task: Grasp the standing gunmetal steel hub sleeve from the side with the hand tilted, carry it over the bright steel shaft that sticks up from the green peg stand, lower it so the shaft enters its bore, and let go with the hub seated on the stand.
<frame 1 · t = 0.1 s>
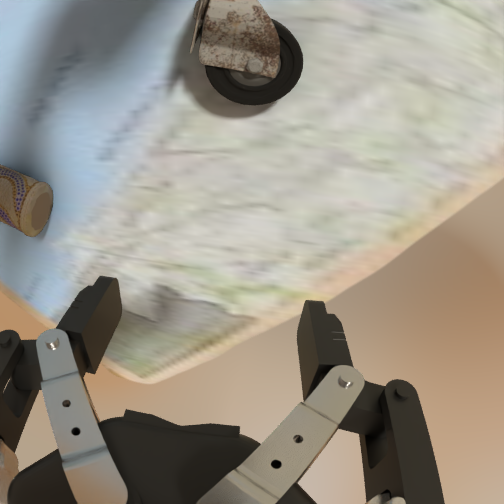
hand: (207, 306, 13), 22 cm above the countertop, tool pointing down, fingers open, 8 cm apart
caster wheel: (250, 41, 25), on the countertop
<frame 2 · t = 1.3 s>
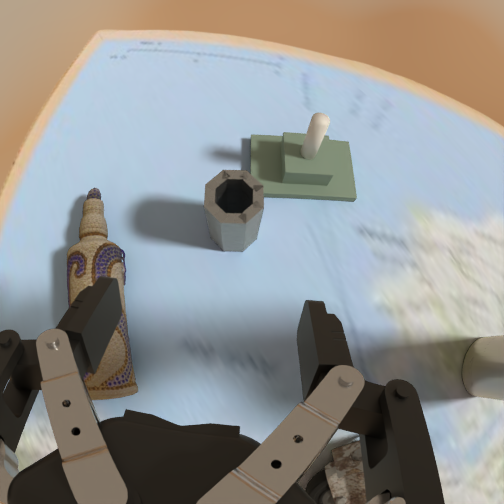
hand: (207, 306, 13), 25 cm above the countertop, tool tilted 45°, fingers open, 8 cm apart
hub: (233, 229, 40), on the countertop
caster wheel: (343, 476, 33), on the countertop
decorative bottle: (112, 298, 38), on the countertop
green peg stand: (301, 168, 43), on the countertop
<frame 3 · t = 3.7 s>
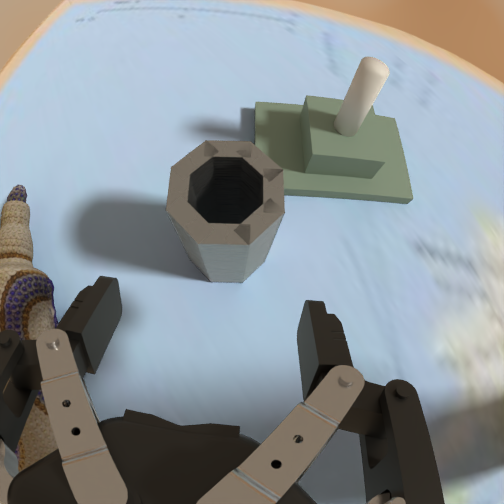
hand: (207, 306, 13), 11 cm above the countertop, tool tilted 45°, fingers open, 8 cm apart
hub: (227, 246, 25), on the countertop
decorative bottle: (47, 349, 22), on the countertop
green peg stand: (331, 153, 28), on the countertop
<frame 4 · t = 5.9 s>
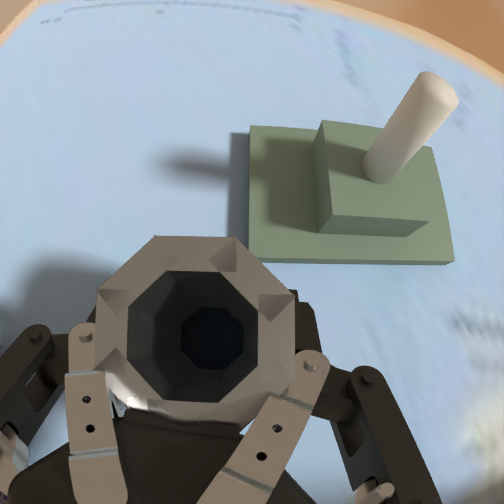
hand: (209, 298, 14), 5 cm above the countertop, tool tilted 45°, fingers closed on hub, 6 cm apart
hub: (211, 338, 18), on the countertop, touching gripper
green peg stand: (353, 198, 21), on the countertop
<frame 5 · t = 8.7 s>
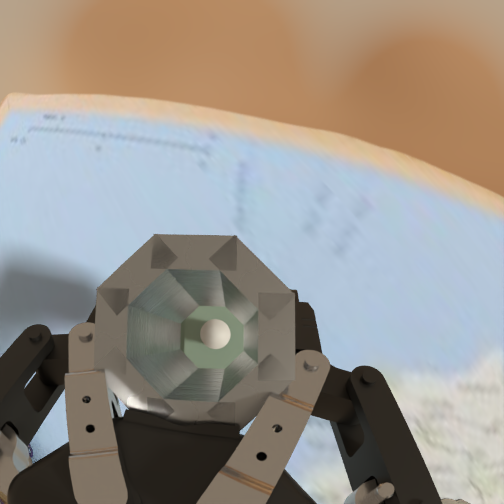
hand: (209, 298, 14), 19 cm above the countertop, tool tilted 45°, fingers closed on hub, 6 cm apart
hub: (211, 337, 18), point 14 cm above the countertop, touching gripper
green peg stand: (220, 335, 32), on the countertop
when the fingers open (11 cm above the countertop, at t = 11.7 s): hub drops 2 cm, resting on green peg stand.
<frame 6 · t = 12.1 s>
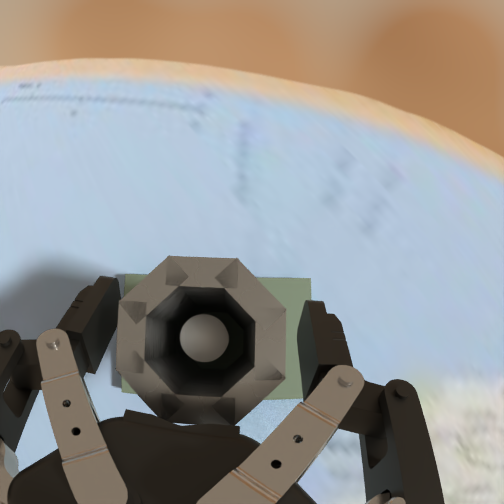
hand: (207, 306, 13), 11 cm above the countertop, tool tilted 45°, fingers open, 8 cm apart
hub: (214, 340, 20), point 4 cm above the countertop, touching green peg stand
green peg stand: (216, 338, 24), on the countertop
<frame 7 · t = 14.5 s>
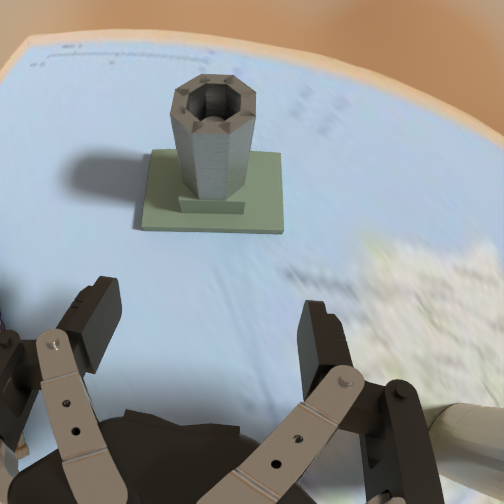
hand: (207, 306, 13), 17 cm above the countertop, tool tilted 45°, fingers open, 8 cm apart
hub: (214, 173, 30), point 4 cm above the countertop, touching green peg stand
decorative bottle: (0, 351, 27), on the countertop
green peg stand: (213, 191, 34), on the countertop
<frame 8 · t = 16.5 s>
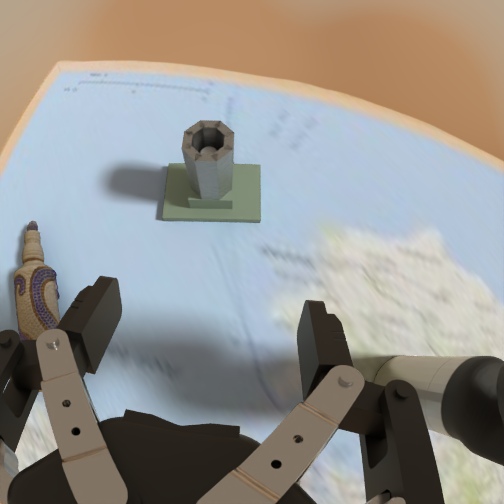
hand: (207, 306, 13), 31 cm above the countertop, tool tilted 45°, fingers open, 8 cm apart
hub: (212, 181, 44), point 4 cm above the countertop, touching green peg stand
decorative bottle: (52, 310, 42), on the countertop
green peg stand: (212, 193, 48), on the countertop
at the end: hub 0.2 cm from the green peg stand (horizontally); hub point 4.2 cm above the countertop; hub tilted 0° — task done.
